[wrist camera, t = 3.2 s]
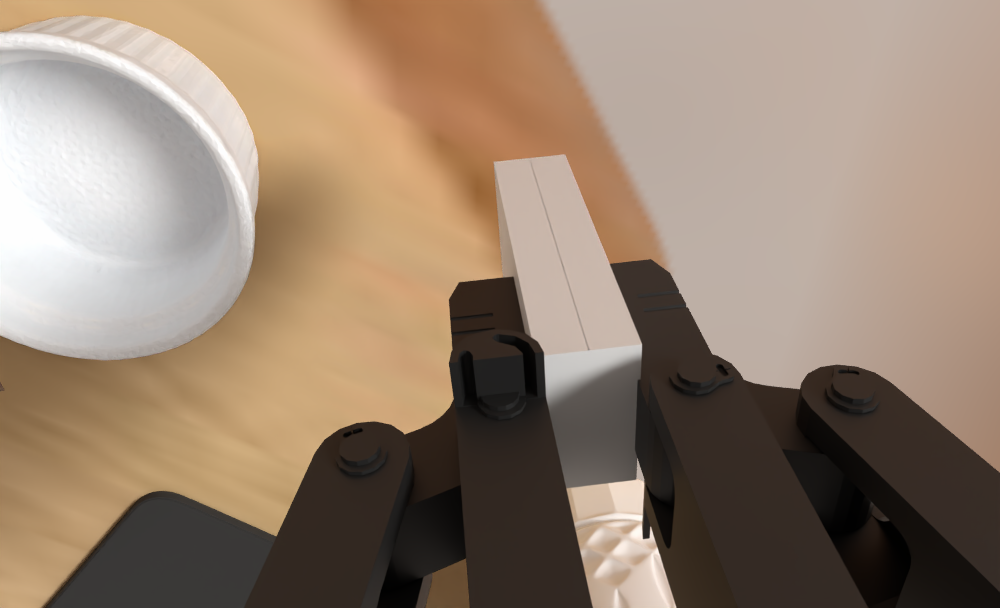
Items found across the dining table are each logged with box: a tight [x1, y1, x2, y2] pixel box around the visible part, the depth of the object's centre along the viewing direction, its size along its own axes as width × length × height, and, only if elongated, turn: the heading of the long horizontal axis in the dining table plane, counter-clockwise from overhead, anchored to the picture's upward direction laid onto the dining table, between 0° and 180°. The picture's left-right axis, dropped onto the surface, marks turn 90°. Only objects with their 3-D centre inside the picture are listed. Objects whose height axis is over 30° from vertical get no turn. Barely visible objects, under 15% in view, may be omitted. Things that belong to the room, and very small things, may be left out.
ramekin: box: [0, 16, 259, 360], centre depth 21 cm, size 9×9×4 cm
